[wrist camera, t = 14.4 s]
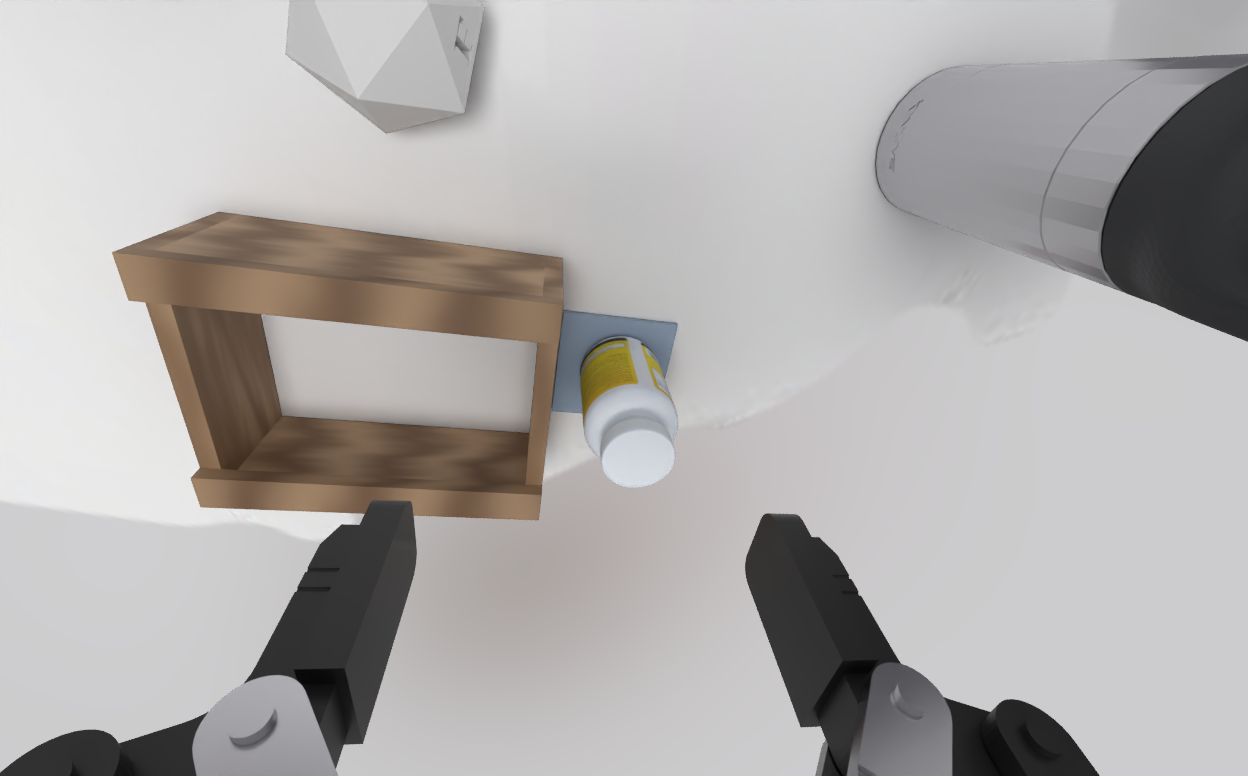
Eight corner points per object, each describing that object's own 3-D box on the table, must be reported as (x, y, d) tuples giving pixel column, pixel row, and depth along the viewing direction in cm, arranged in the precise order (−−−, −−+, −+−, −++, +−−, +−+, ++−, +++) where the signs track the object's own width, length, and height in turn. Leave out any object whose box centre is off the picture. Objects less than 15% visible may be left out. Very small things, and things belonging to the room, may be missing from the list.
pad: (676, 323, 40) (677, 325, 39) (654, 416, 44) (655, 419, 44) (563, 310, 38) (563, 312, 38) (552, 408, 43) (551, 410, 42)
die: (420, 158, 32) (498, 147, 25) (250, 88, 26) (292, 49, 19) (446, 18, 31) (534, -33, 24) (274, -91, 25) (328, -201, 18)
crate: (562, 258, 36) (563, 305, 28) (542, 445, 44) (538, 520, 37) (218, 212, 32) (111, 252, 24) (268, 427, 40) (200, 507, 33)
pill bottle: (563, 375, 41) (564, 470, 31) (613, 317, 38) (632, 398, 29) (624, 414, 43) (642, 512, 33) (674, 361, 41) (710, 450, 31)
